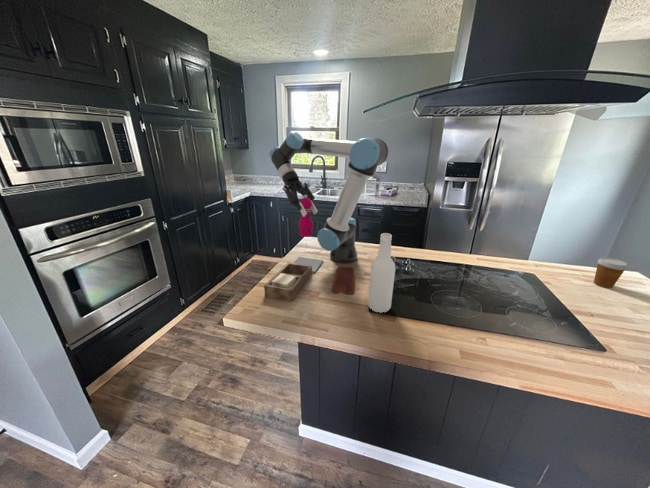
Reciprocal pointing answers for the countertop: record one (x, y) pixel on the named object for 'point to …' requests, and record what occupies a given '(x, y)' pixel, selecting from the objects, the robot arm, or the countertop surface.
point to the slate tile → (310, 263)
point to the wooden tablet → (344, 281)
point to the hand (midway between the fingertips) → (310, 213)
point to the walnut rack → (296, 288)
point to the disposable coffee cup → (609, 272)
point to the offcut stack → (284, 281)
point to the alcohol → (382, 277)
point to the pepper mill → (306, 218)
